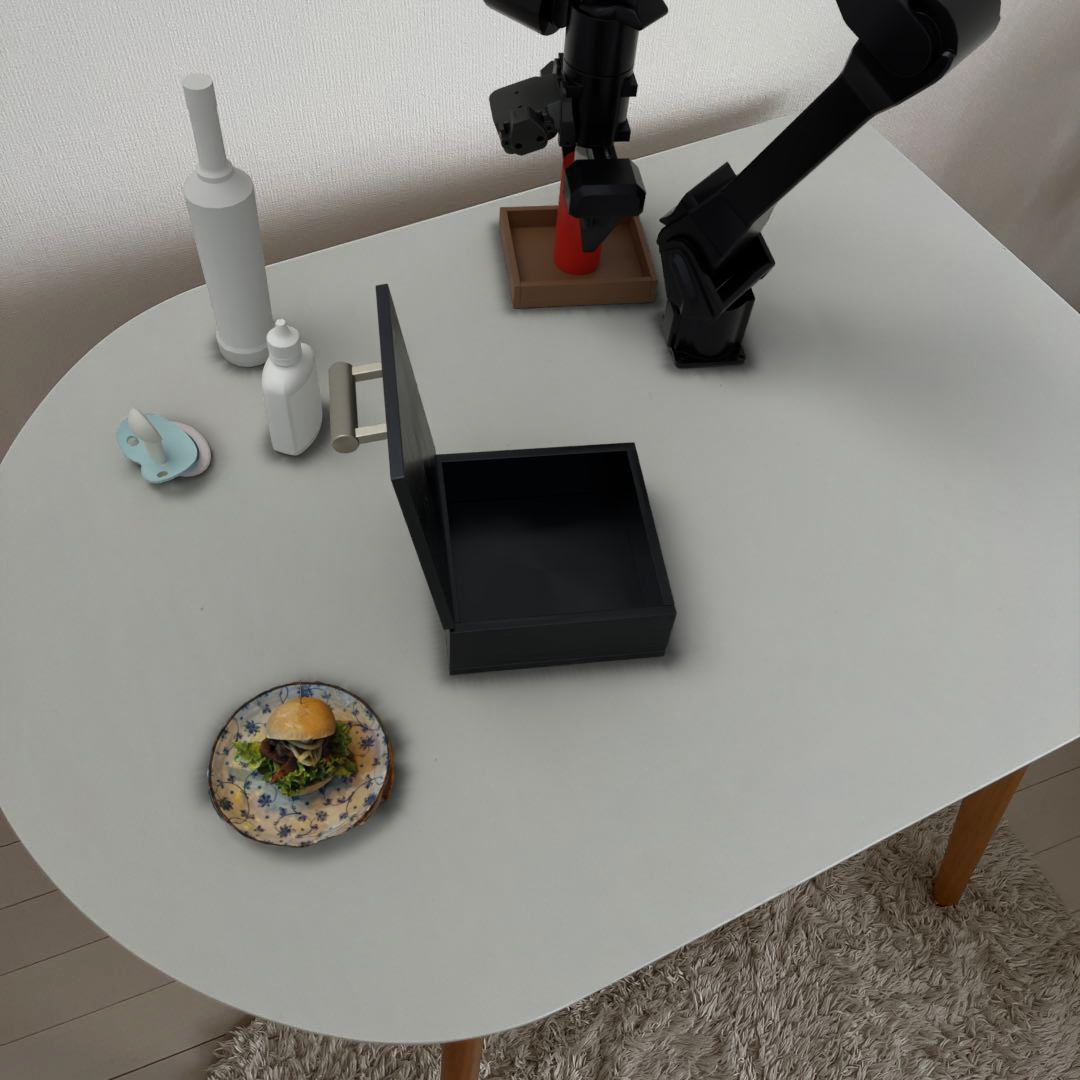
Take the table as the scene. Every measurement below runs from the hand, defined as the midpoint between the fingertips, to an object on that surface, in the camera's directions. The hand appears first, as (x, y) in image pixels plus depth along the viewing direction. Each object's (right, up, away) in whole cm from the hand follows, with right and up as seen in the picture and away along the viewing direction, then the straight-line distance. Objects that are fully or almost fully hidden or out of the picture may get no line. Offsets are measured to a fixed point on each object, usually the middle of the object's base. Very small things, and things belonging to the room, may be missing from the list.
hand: (580, 218), depth 101 cm
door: (-11, -24, -30) cm, 40 cm away
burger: (-19, -45, -27) cm, 56 cm away
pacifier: (-33, -23, -12) cm, 42 cm away
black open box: (-3, -32, -17) cm, 36 cm away
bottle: (-29, -13, -5) cm, 32 cm away
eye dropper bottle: (-23, -21, -10) cm, 33 cm away
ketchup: (0, -3, +4) cm, 5 cm away
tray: (0, -3, +4) cm, 5 cm away
